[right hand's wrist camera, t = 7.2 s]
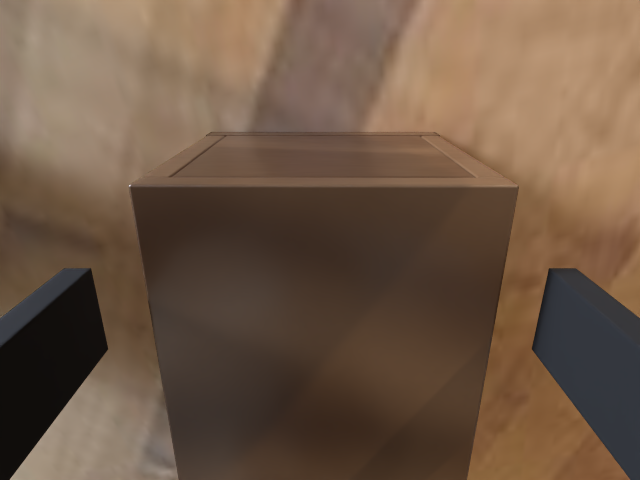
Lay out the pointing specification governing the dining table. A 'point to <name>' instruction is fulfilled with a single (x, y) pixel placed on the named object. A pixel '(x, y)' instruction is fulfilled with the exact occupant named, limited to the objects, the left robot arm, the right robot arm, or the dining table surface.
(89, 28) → the dining table surface
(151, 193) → the cabinet
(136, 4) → the dining table surface
